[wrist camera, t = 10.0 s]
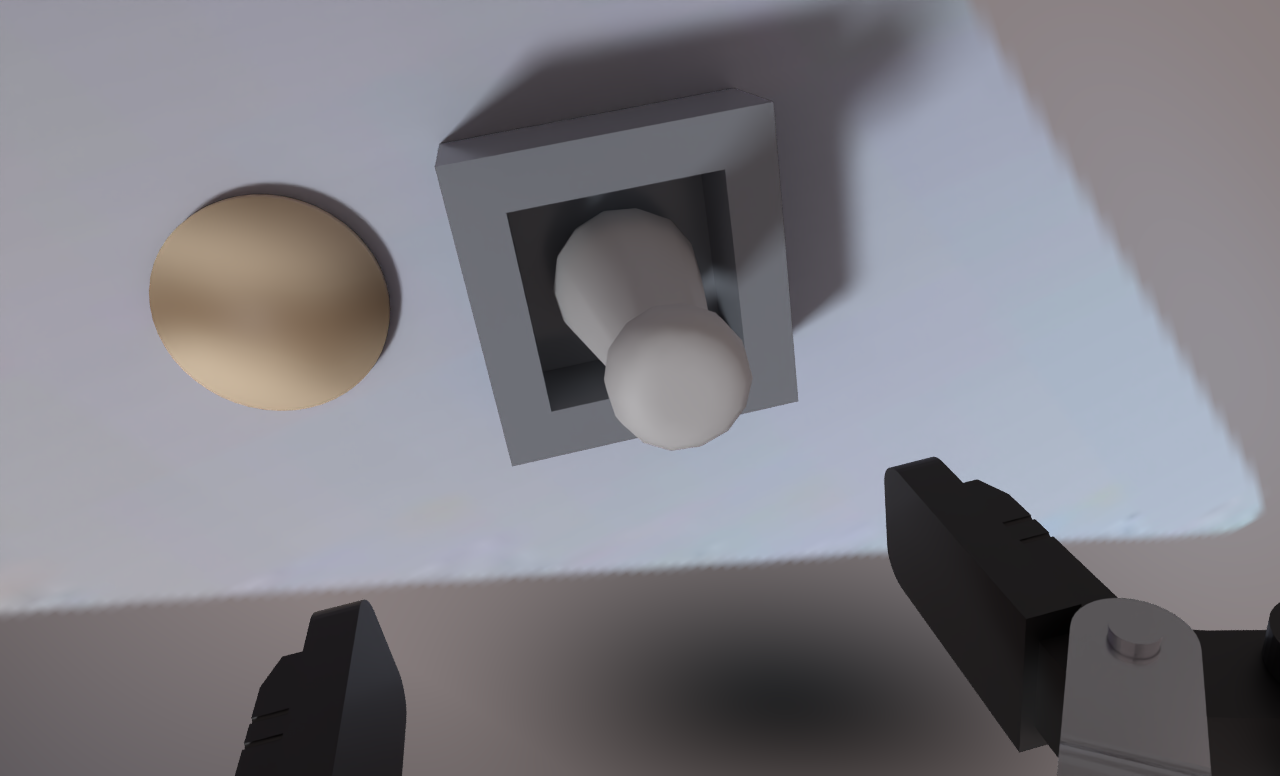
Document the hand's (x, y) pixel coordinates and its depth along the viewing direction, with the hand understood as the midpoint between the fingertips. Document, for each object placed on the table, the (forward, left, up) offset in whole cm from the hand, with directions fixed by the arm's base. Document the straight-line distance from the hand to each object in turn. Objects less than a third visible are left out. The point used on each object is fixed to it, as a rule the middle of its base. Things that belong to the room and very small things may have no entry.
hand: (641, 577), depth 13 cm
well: (+3, +3, -25) cm, 25 cm away
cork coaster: (+2, -11, -25) cm, 27 cm away
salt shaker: (+3, +3, -24) cm, 24 cm away
